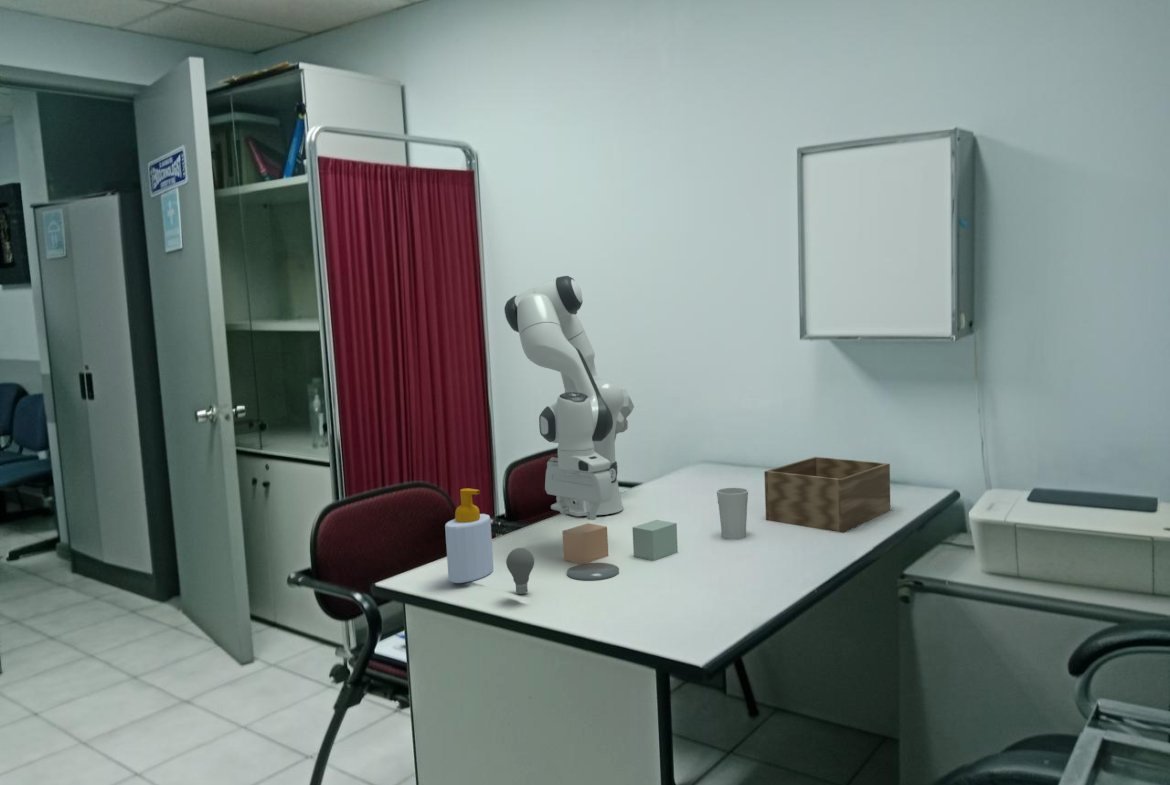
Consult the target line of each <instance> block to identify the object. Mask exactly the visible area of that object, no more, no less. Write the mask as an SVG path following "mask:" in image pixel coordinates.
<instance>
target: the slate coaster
mask: <svg viewBox="0 0 1170 785" xmlns="http://www.w3.org/2000/svg"><path fill="white" fill-rule="evenodd" d="M619 573H620V568H619V566H617V565H616V564H613V563H607V562H588V563H585V564H579V563H578V564H576V565H572V566H570V567H569V568H568V569H567V570H566V575H567V576H568V578H570V579H573V580H576V581H577V580H578V581H585V582H586V581H587V582H588V581H590V582H591V581H592V582H593V581H601V580H608V579H611V578H613V577H614V578H615V577H616V576H617V575H618V574H619Z"/></svg>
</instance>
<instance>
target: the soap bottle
mask: <svg viewBox="0 0 1170 785" xmlns="http://www.w3.org/2000/svg"><path fill="white" fill-rule="evenodd" d="M459 491H460V492H459V493H460V505H459V506H457V507H456V509H455V512H454V519H451V520H449V521H447V522H446V523H445V525H444V529H445V544H446V546H445V547H446V557H447V558H446V560H447V563H446V564H447V575H448V577H447V578H448V581H449V582H451V583H454V584H462V583H463V584H464V583H469V582H472V581H477V580H480V579H482V578H485V577H487V576H489V575H490V574H492V572H493V571H494V556H493V541H492V522H491V520H492V519H491V517H490V515H489V514H486V513H480V511H481V510H480V508H479V506H477V505H475V504H474V503H473V495H479V494H480V492H481V491H480V489H475V488H468V487H467V488H462V489H460V490H459Z"/></svg>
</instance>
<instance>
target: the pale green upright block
mask: <svg viewBox="0 0 1170 785" xmlns="http://www.w3.org/2000/svg"><path fill="white" fill-rule="evenodd" d="M677 524H678V523H676V522H673V521H672V522H671V521H666V520H660V519H654V520H652V521H649V522H645V523H642V524H639V525H635V526H632V548H633V557H635V558H640V559H645V560H650V561H656V560H660V559H661V558H665V557H667V556H671V555H673V554H677V553H679V551H678V548H679V547H678V525H677Z"/></svg>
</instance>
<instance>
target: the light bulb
mask: <svg viewBox="0 0 1170 785" xmlns="http://www.w3.org/2000/svg"><path fill="white" fill-rule="evenodd" d="M505 563H506V567H507V570H508V571H509V573H510V574H511V576H512V579H513V582H514V584H515V593H516V594H519V595H525V594H526V593H527V592H529V587H528V582H529V581H530V580H529V579H530V575H531V572H532V570H533V568H534V565H535V558H534V556H533V554H532V552H531V551H530V550H528V549H527V548H523V547H516V548H514V549H512V550H511V551H510V552H509V553H508V555H507V557H506V559H505Z"/></svg>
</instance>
